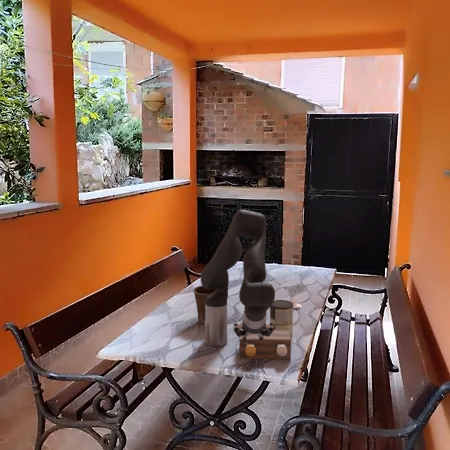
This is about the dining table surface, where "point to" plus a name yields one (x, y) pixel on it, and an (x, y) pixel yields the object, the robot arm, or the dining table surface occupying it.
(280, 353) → the ivory button
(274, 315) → the coffee can
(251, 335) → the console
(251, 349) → the amber button
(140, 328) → the dining table surface
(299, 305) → the teacup and saucer
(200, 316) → the plant pot
